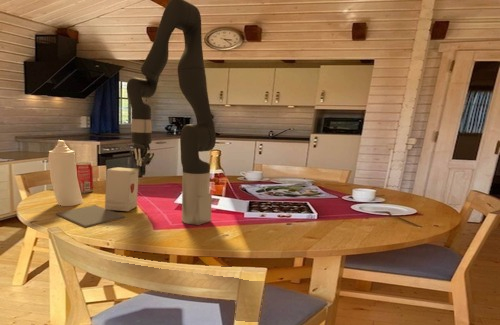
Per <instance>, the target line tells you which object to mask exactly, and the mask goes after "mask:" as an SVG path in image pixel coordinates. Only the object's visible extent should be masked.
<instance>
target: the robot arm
mask: <svg viewBox="0 0 500 325" xmlns="http://www.w3.org/2000/svg"><path fill="white" fill-rule="evenodd" d="M158 24H159V25H158V27H157V31H156V33H155V36H154V40H153V42H152V45H151V48H150V50H149V51H148V54H147V56H146V58H145V59H144V61H143V63H142V65H141V67H140V72H141V74H143V76H145V78H140V77H131V78H130V79H128V81H127V83H126V92H127V97H128V100H129V104H130V108H131V123H130V124H131V128H130V130H131V131H130V132H131V133H130V136H131V137H130V139H131V140H130V141H131V144H133V149H130V150H129V154H130V156H131V159H132V161H133V163H134V164H135V165H137V169H139V172H138V176H146V172H147V171H146V170H147V169H146V167H147V166H148V165H150V163H151V162H152V160H153V158H154V156H155V153H154V152H151V147H150V144H152V141H153V140H152V139H153V138H152V135H153V134H152V133H153V132H152V130H153V129H152V128H153V126H152V109H151V108H152V107H151V105H149V104H148V103H145V102H144V101H143V98H145V99H148V98H151V97H153V96H154V95H155V93H156V91H157V89H158V83H159V79H160V76H161V74H162V72H163V70H164V69H165V67H166V65H167V63H168V60H169V44H170V38H171V36H172V34H173V33H174V31H175V29H178V30H179V31H182V33H183V34H182V35H183V39H184V49H183V52H182V54H181V56H180V59H179V61H178V64H177V78H178V85H179V89H180V91H181V93H182V94H183V96H184V98H185V100H186V101H187V103H188V104H189V105H190V107H191V108H192V110H193V112H194V115H195V119H196V120H195V121H196V124H195V123H194V124H193V123H191V124H190V123H189V124H185V125H184V126H183V127H182V129H181V131H180V134H179V135H180V140H179V141H180V148H179V149H180V164H181V167H182V188H181V190H182V192H181V193H182V195H181V197H182V198H181V199H182V200H181V222H182V223H184V224H188V225H197V226H200V225H204V224H206V223H208V222H209V223H210V222H212V194H211V193H210V186H211V185H210V184H211V182H210V181H211V165H210V163H209V162H207V161H204V160H202V159H201V158H200V154H199V152H201V153H202V152H211V151H212V150H214V148H215V146H216V140H217V137H216V134H217V133H216V128H215V124H214V119H213V116H212V112H211V106H210V99H209V93H208V92H209V91H208V86H207V85H208V84H207V77H206V76H207V75H206V69H205V63H204V62H205V61H204V54H203V53H204V52H203V43H202V41H203V38H202V17H201V13H200V10H199V8H198V7H197V6H196V5H194V4H192V3H190V2H189V1H187V0H169V1H168V3H167V4H166V6H165V8H164V10H163V13H162V16H161V19H160V22H159V23H158Z"/></svg>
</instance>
